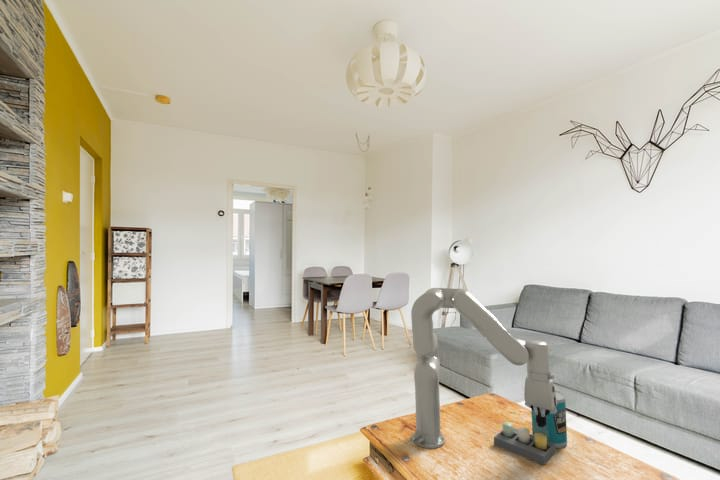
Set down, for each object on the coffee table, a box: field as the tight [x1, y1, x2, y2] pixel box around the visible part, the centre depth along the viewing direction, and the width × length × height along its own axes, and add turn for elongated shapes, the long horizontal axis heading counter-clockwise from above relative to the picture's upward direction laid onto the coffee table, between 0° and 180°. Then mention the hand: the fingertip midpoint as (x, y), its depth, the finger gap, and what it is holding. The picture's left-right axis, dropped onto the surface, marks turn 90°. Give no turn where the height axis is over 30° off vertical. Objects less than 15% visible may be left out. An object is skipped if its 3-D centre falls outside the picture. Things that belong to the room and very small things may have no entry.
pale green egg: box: [501, 421, 515, 437], centre depth 135 cm, size 4×4×4 cm
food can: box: [531, 390, 568, 449], centre depth 136 cm, size 12×12×18 cm
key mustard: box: [534, 433, 547, 450], centre depth 126 cm, size 4×4×4 cm
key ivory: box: [517, 426, 531, 444], centre depth 130 cm, size 4×4×4 cm
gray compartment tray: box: [493, 428, 557, 466], centre depth 130 cm, size 12×18×3 cm, turn 43°
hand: (541, 425), depth 126 cm, fingers closed
